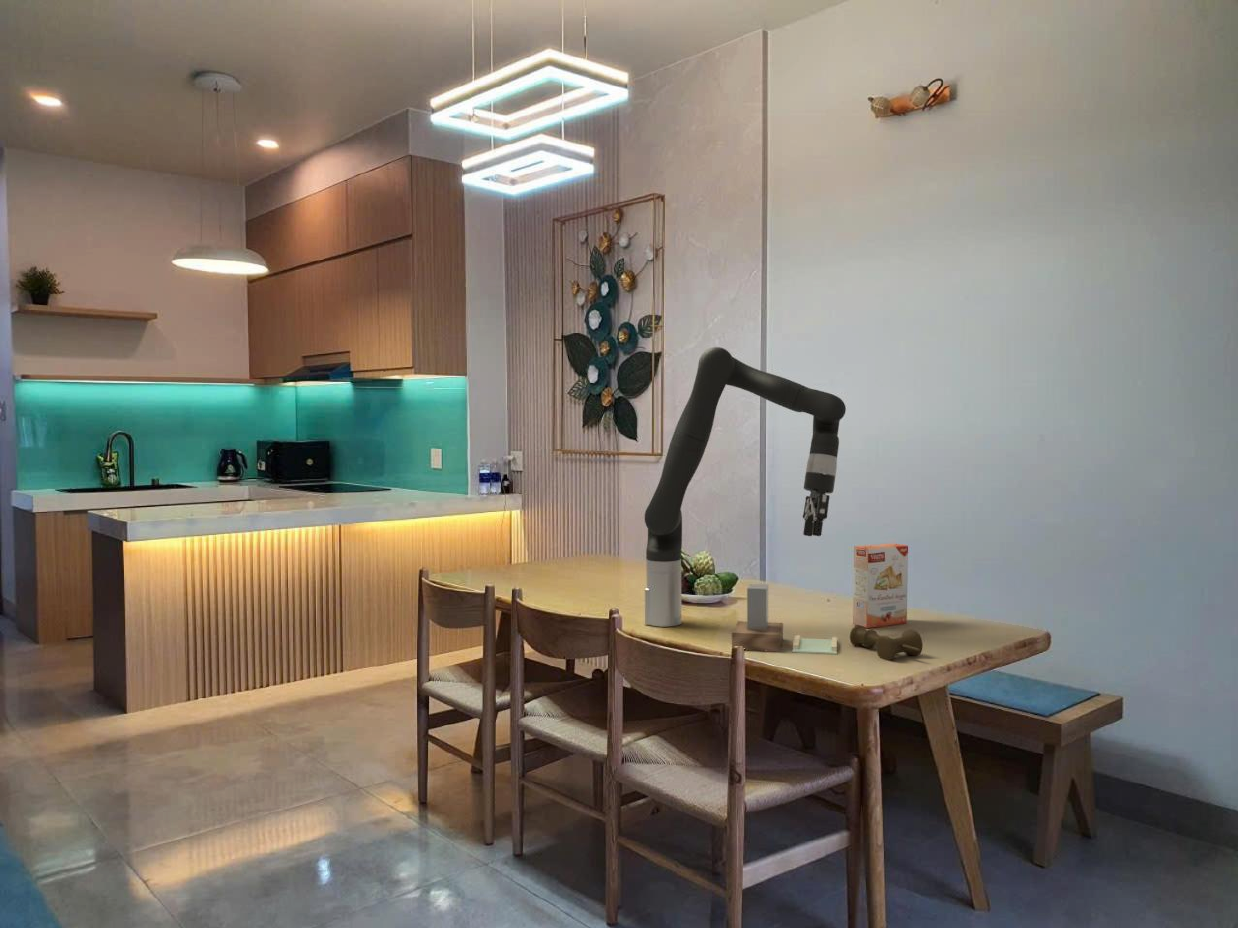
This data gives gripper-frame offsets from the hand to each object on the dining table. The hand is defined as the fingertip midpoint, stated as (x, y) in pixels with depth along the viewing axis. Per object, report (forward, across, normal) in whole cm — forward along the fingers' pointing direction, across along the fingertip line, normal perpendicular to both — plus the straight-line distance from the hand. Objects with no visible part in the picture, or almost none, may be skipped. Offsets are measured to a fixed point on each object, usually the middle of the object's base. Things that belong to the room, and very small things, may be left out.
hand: (811, 535), depth 238 cm
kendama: (+25, +22, +15) cm, 37 cm away
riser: (+28, +10, -12) cm, 32 cm away
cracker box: (+20, -8, +24) cm, 32 cm away
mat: (+26, +14, +1) cm, 30 cm away
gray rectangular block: (+24, +11, -13) cm, 30 cm away
